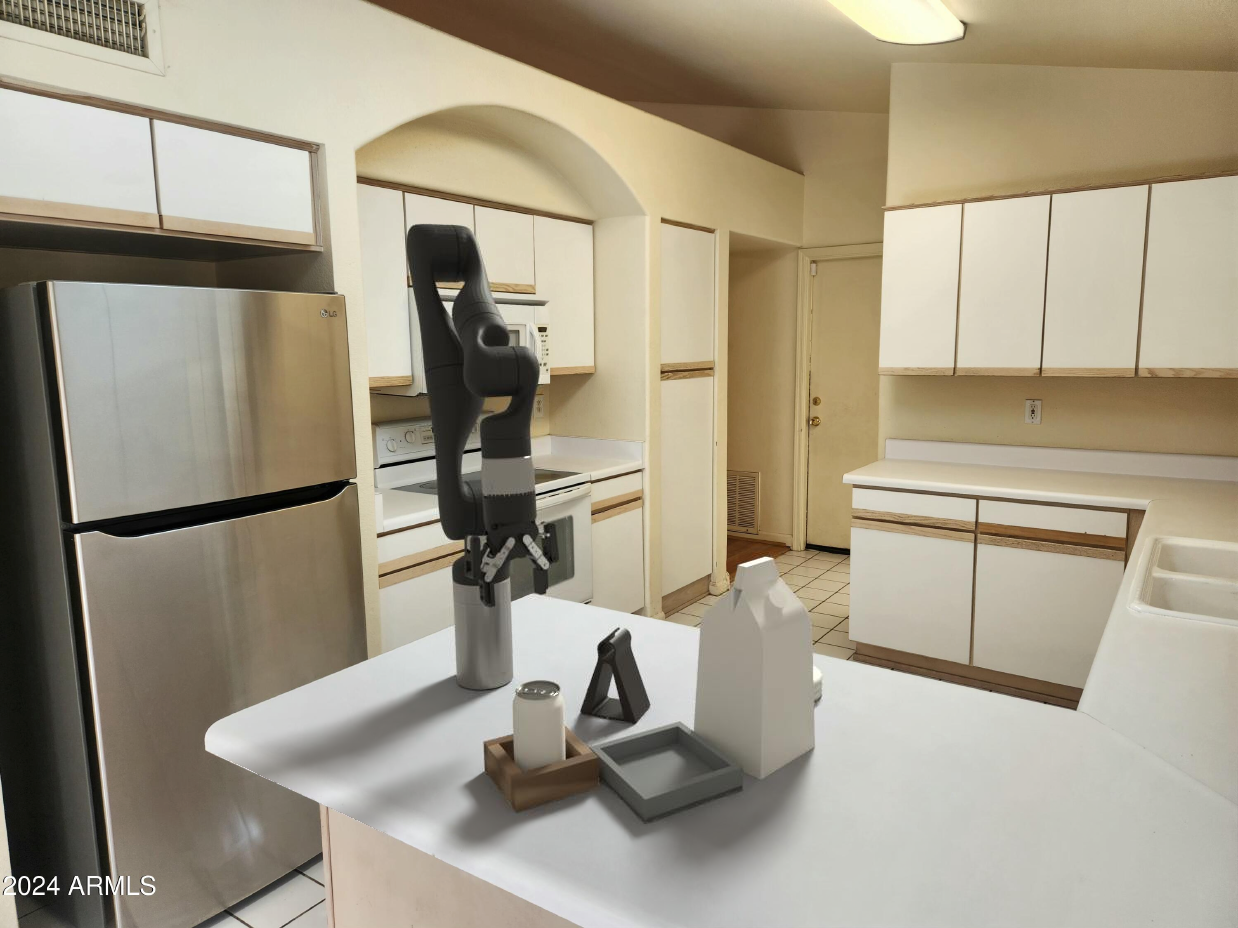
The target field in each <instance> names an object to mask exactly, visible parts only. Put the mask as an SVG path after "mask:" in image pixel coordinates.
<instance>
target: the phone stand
mask: <svg viewBox="0 0 1238 928" xmlns="http://www.w3.org/2000/svg"><path fill="white" fill-rule="evenodd" d="M620 630H621V627H616V628H615V629H614V630H613V631H612V632H610V633H609V634H608V635H607V636H606V637H605V638H603V639H602V640H601V641H600V642H599V643H598V644H597V646H596V651H597V661H596V664H595V667H594V669H593V673H592V676H591V679H590V681H589V684H588V686H587V690H586V694H585V696H584V698H583V701H582V704H581V707H580V711H579V713H580V715H584V716H590V717H595V718H601V719H605V720H606V719H608V720H611V721H616V722H622V723H628V724H633V725H635V724H636V723H637V722H638V720H640V719H641V718H642V717H643V715H644V714H645V712H647V710H648V709H649V708H650V707H651V701H650V699H649V697H648V693H647V690H646V688H645V685H644V681H643V679H642V675H641V673H640V670H639V667H638V664H637V662H636V657H635V655H634V653H633V649H632V634H631V632H630V630H628V628H626V627H624V628H623V629H622V630H621V631H620ZM619 631H620V632H619ZM616 633H617V634H616ZM612 678H613V680H614V683H615V687H616V691H617V697H618V698H613V697H609V696H608V695H609V690H610V688H611V687H610V686H611V682H612Z"/></svg>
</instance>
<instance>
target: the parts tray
mask: <svg viewBox="0 0 1238 928" xmlns="http://www.w3.org/2000/svg"><path fill="white" fill-rule="evenodd" d="M588 748H590V749H591V750H592V751H593V752H594V753H595V754H596V755H597V756H598V757H599V780H601V781H602V782H603V783H604V784H605V785H606V787H608V788H609V789H610V790H611V791H612V792H613V793H614V794H615V796H617V798H619V799H620V800H621V801H622V802H623V803H624V804H625V805H626V806H627V807H628V808H629V809H630V811H632V813H634V814H635V815H636V816H637V817H638V818H639V819H640V820H641V821H642V822H643V823H644V824H648V823H651V822H654V821H657V820H660V819H662V818H666V817H668V816H671V815H675V814H677V813H679V812H683V811H685V810H689V809H691V808H694V807H697V806H698V807H699V806H700V805H703V804H706V803H710V802H711V801H715V800H717V799H720V798H723V797H726V796H729V795H732V794H735V793H737V792H741V791H743V790H744V787H743V786H744V784H743V783H744V774H743V773H744V771H743V767H742V766H741V765H739V764H738V763H737V762H735V761H734V760H732V759H731V758H730V757H728V756H727V755H726V754H724V753H723V752H721V751H720V750H719V749H717V748H716V747H715V746H713V745H712V744H710V743H709V742H708V741H706V740H705V739H704V738H702V737H701V736H699V735H698V734H697V733H695V732H694V729H691V728H690V727H689V726H688V725H686V724H685V723H683V722H682V721H677V722H673V723H669V724H666V725H663V726H659V727H655V728H651V729H648V730H645V731H641V732H637V733H634V734H630V735H627V736H623V737H619V738H617V739H611V740H609V741H606V742H602V743H597V744H596V745H591V746H589V747H588Z"/></svg>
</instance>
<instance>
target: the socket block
mask: <svg viewBox="0 0 1238 928" xmlns="http://www.w3.org/2000/svg"><path fill="white" fill-rule="evenodd" d="M482 742H483V762H484V763H483V766H484V772H485V773H486V774H487V776H488V777H489V778H490V780H491V782H493V784H494V785H495V787H496V788H497V789H498V791H499V792H500V793H501V794H502V796H503V797H504V799H506V801H507V802H508V804H509V805H510V806H511V807H512V808H513V810H514V812H515V813H516V814H517V813H520V812H523V811H526V810H530V809H533V808H536V807H539V806H542V805H546V804H549V803H552V802H556V801H559V800H563V799H565V798H569V797H572V796H575V795H577V794H582V793H585V792H588V791H591V790H594V789H597V788H600V778H599V757H598V756H597V755H596V754H595V753H594V752H593V751H592V750H591V749H590V748H589V747H588V745H587V744H585V743H584V742H583V740H581V739H580V738H579V737H578V736H577V735H576V734H575V733H574V732H573V731H572V730H571V729H570V728H568V727H567V726H566V725H565V756H566V760H563V761H559V762H556V763H552V764H549V765H545V766H542V767H538V768H535V769H531V770H528V771H524V772H522V771H521V770H520V769H519V767H518V766H517V765H516V764H515V763H514V738H513V733H511V734H507V735H504V736H500V737H496V738H492V739H489V740H484V741H482Z"/></svg>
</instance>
